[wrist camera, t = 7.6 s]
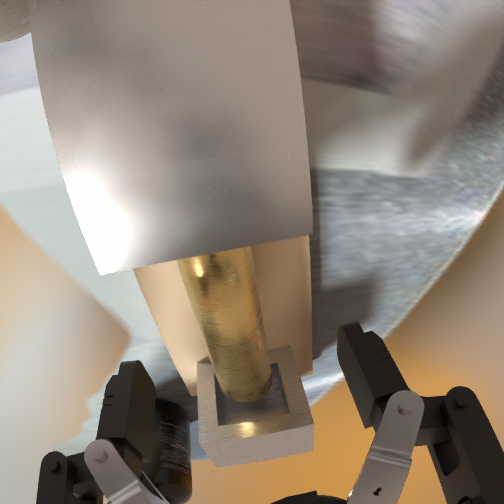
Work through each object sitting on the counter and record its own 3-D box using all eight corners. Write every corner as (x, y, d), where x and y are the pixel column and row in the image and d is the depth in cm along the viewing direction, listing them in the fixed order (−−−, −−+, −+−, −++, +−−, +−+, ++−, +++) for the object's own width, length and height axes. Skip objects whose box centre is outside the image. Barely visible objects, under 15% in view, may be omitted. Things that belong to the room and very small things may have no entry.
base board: (191, 384, 25) (191, 396, 24) (76, 28, 11) (68, 25, 10) (308, 363, 25) (312, 374, 24) (274, -15, 11) (279, -21, 10)
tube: (144, 98, 11) (125, 105, 9) (222, 81, 11) (226, 82, 9) (218, 365, 20) (222, 406, 17) (267, 356, 20) (276, 396, 17)
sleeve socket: (210, 395, 24) (217, 472, 18) (97, 12, 10) (24, -22, 4) (293, 380, 24) (314, 455, 18) (244, -20, 10) (276, -86, 4)
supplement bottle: (109, 397, 25) (96, 516, 15) (179, 394, 26) (182, 522, 15) (135, 431, 29) (132, 531, 18) (196, 428, 29) (204, 534, 19)
